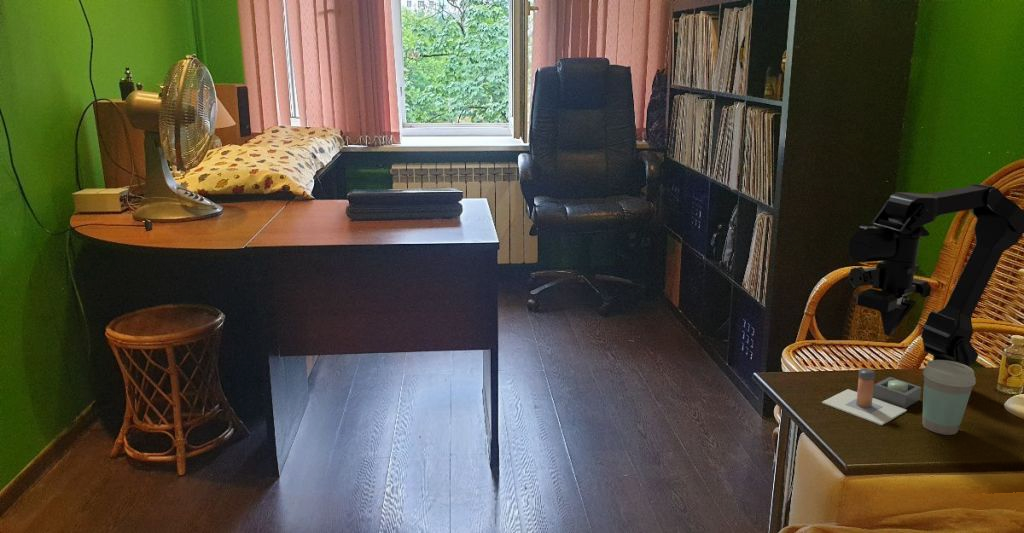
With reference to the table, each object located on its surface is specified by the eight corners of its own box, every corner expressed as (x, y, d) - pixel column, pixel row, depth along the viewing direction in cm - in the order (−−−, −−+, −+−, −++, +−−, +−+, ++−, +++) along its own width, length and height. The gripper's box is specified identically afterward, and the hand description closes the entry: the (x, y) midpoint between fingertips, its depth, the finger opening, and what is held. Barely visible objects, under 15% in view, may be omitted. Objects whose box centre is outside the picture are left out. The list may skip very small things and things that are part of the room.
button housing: (887, 389, 159) (889, 376, 158) (919, 400, 154) (921, 387, 154) (872, 397, 155) (874, 384, 155) (904, 408, 151) (906, 395, 150)
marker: (859, 400, 153) (862, 367, 151) (874, 404, 151) (877, 371, 149) (853, 405, 151) (856, 371, 149) (868, 409, 149) (872, 375, 147)
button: (891, 389, 157) (893, 378, 156) (909, 395, 154) (911, 384, 154) (883, 394, 155) (885, 383, 154) (901, 400, 152) (903, 389, 152)
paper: (847, 390, 158) (847, 388, 158) (906, 411, 149) (907, 409, 149) (821, 403, 152) (822, 401, 152) (881, 425, 143) (882, 423, 143)
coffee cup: (973, 440, 138) (985, 379, 135) (921, 435, 140) (932, 374, 137) (956, 419, 146) (967, 360, 143) (908, 415, 148) (918, 356, 145)
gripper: (882, 244, 161) (871, 315, 165) (835, 257, 149) (825, 333, 153) (937, 255, 152) (925, 329, 156) (892, 269, 141) (880, 349, 145)
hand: (888, 334), depth 153 cm, fingers closed
